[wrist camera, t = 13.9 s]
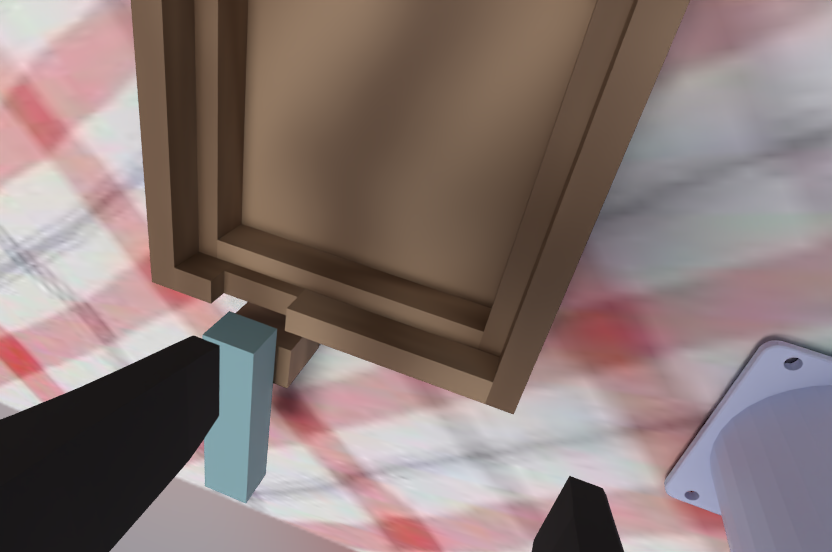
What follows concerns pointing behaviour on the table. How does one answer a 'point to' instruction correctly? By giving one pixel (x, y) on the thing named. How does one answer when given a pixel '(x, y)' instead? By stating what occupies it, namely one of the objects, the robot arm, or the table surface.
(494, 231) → the tray
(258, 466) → the rectangular block
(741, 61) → the table surface
